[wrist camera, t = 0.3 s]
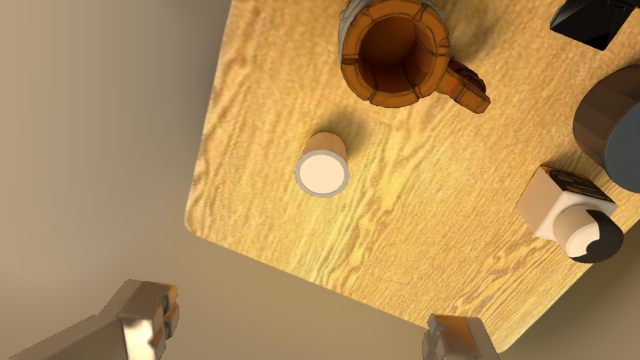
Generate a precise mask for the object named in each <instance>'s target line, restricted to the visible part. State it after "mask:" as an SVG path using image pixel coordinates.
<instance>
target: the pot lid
mask: <svg viewBox="0 0 640 360" xmlns="http://www.w3.org/2000/svg"><path fill="white" fill-rule="evenodd" d="M602 160H603V165H604V169H605V171H606V173H607V175H608V176H609V177H610V179H611V180H613V181H614V182H615V183H616V184H617V185H618V186H620V187H622V188H623V189H625V190H628V191H631V192H634V193H639V194H640V98H639V99H638V100H636V101H635V102H634V103H632V104H631V105H630V106H629V107H628V108H627V109H626V110H625V111H624V112H623V113H622V114H621V115H620V116H619V117H618V118H617V120H616V121H615V123H614V124H613V125H612V127H611V129H610V131H609V132H608V134H607V137H606V139H605V142H604V146H603V152H602Z"/></svg>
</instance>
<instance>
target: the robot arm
mask: <svg viewBox="0 0 640 360" xmlns="http://www.w3.org/2000/svg"><path fill="white" fill-rule="evenodd" d="M177 296H178V290H177V286H176V285H171V284H164V283H157V282H149V281H139V280H132V279H129V280H127V281H125V282H124V284H123V285H122V286H121V287H120V289H119V290H118V291H117V292H116V293H115V295H114V296H113V297H112V298H111V300H110V301H109V302H108V304H107V305H106V306H105V307H104V308H103V309H102V311H101V312H100V313H99V314H98V315H92V316H90V317H88V318H86V319H84V320H82V321H80V322H78V323H76V324H74V325H72V326H70V327H68V328H66V329H65V330H62V331H61V332H58V333H57V334H54V335H53V336H50V337H48V338H47V339H45V340H43V341H41V342H39V343H37V344H35V345H33V346H31V347H29V348H27V349H25V350H23V351H21V352H19V353H17V354H15V355H13V356H11V357H9V358H7V359H5V360H160V359H161V356H162V355H163V353H164V351H165V349H166V342H165V341H166V340H167V339H169V338H170V337H172V336H173V333H174V332H175V330H176V327H177V323H178V320H179V305H178V304H177V303H176V302H175V300H176V298H177ZM427 323H428V327H429V330H428V331H427V332H425V333H424V337H423V341H422V355H423V360H500V359H499V356H498V354H497V352H496V350H495V348H494V346H493V344H492V342H491V339H490V337H489V335H488V333H487V331H486V329H485V327H484V325H483V322H482V320H481V319H480V318H477V317H466V316H463V317H462V316H454V315H444V314H434V313H431V314H430V316H429V319H428V322H427Z"/></svg>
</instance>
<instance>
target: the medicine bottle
mask: <svg viewBox="0 0 640 360" xmlns="http://www.w3.org/2000/svg"><path fill="white" fill-rule="evenodd" d="M515 207H516V209H517V210H518V212H519V213H520V215H521V216H522V218H523V219H524V221H525V222H526V224H527V225H528V227H529V228H530V230H531V231H532V233H533V234H534V235H535V236H536V237H540V238H544V239H548V240H552V241H556V242H558V243H559V244H560V245H561V247H562V248H563V249H564V251H565V252H566V253H567V255H568V256H569V257H570V258H571V259H572V260H574V261H576V262H580V263H597V262H601V261H604V260H606V259H608V258H610V257H612V256H613V255H614V254H616V253H617V252H618V250H619V249H620V248H621V246H622V243H623V240H624V235H623V232H622V230H621V229H620V228H619V227H618V226H617V225H616V224H615V223H614V222H613V221H612V220H611V219H610V218H609V217H610V216H611V215H612V214H613V212H614V211H615V210H616V209H617V207H618V205H617V204H616V203H615V202H614V201H613V200H612V199H611V198H610V197H608V196H607V195H606V194H605V193H604V192H603V191H602V190H601V189H600V188H599V187H597V186H596V185H595V184H594V183H593V182H592V181H591V180H590V179H589V178H587V177H584V176H580V175H576V174H572V173H568V172H564V171H561V170H557V169H553V168H549V167H545V166H540V167H539V168H538V169H537V171H536V173H535V174H534V176H533V178H532V179H531V181H530V182H529V184H528V186H527V187H526V189H525V190H524V192H523V194H522V195H521V197H520V198H519V200H518V202H517V203H516V205H515Z"/></svg>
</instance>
